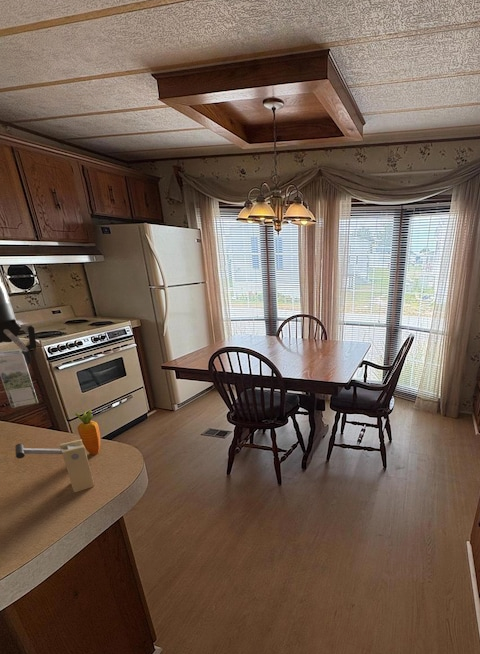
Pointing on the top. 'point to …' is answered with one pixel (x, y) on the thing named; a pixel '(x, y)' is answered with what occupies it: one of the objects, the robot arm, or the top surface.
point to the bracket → (77, 465)
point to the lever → (37, 450)
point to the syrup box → (16, 379)
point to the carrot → (89, 433)
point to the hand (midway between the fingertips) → (12, 366)
